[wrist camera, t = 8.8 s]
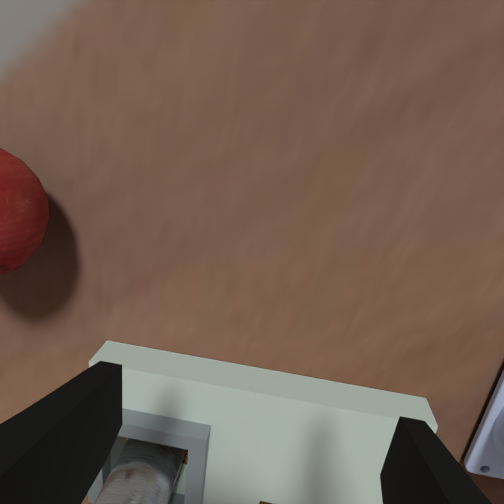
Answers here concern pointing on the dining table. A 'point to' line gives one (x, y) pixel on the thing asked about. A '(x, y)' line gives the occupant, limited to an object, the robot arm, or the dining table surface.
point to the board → (256, 429)
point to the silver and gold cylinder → (142, 474)
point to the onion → (20, 212)
